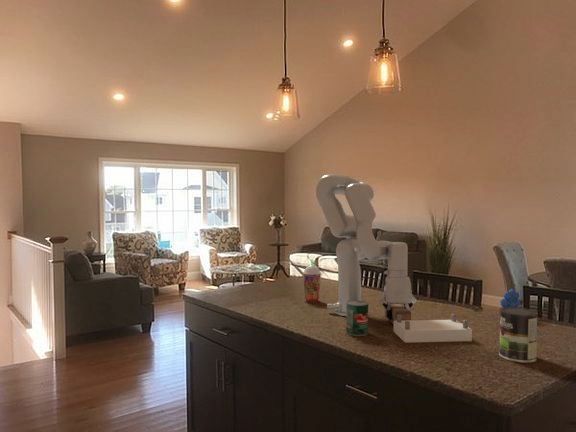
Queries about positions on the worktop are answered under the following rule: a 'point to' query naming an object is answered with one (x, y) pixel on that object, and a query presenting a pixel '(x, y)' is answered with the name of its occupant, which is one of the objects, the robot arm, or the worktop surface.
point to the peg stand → (432, 330)
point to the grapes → (510, 299)
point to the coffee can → (518, 334)
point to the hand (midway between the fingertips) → (397, 319)
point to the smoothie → (312, 282)
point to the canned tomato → (357, 317)
